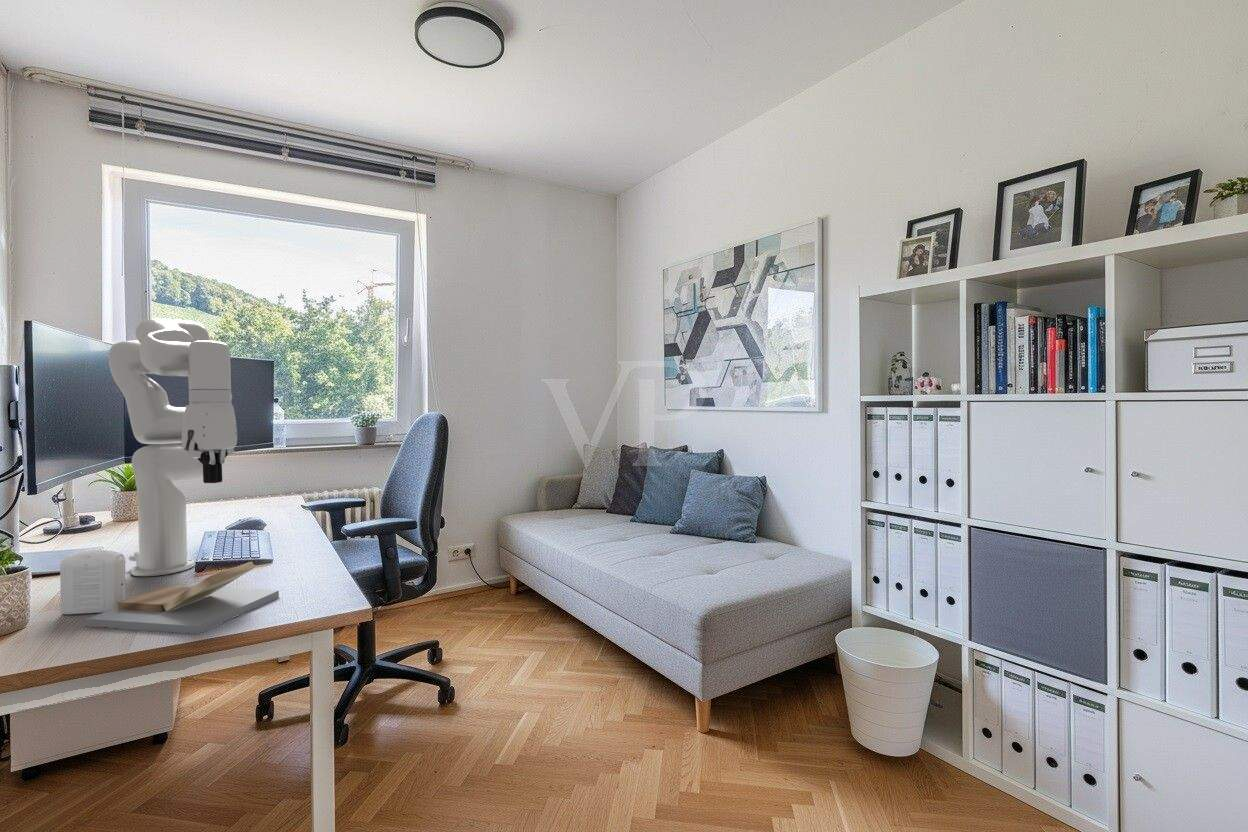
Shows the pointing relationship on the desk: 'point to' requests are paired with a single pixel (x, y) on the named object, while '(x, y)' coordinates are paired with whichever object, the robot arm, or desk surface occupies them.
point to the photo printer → (92, 581)
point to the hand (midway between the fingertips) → (212, 482)
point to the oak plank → (208, 586)
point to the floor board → (188, 612)
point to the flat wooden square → (151, 599)
